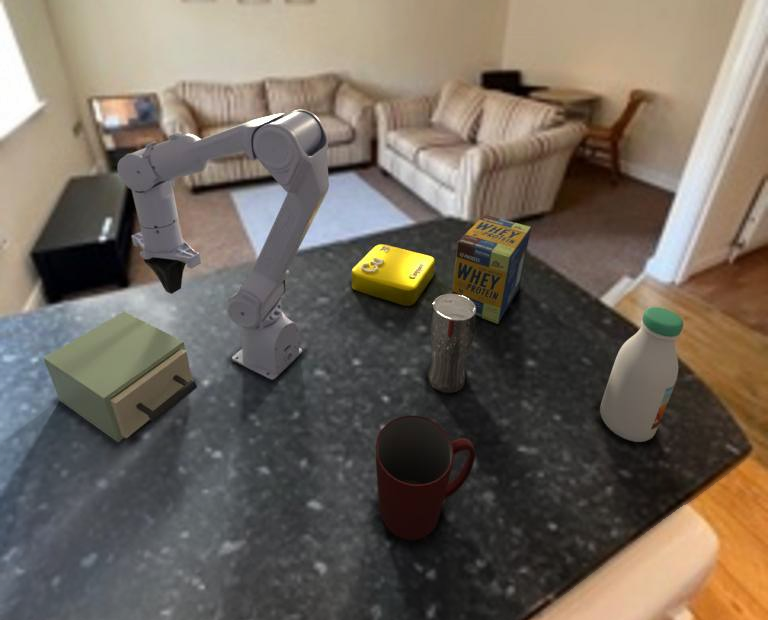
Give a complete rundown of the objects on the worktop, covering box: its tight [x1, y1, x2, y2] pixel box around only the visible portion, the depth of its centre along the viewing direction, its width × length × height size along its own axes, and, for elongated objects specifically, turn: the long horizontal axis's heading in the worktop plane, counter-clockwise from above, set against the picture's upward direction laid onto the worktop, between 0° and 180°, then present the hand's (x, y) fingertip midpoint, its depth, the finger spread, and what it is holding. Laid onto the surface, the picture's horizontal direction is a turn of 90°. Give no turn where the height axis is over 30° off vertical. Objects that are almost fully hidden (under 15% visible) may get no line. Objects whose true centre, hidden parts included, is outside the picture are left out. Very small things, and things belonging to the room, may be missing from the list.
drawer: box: [110, 349, 198, 439], centre depth 67 cm, size 18×11×7 cm, turn 61°
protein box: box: [451, 214, 532, 325], centre depth 93 cm, size 10×15×16 cm
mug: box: [375, 414, 476, 541], centre depth 54 cm, size 12×9×11 cm
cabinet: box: [42, 311, 186, 443], centre depth 69 cm, size 15×13×9 cm
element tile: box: [351, 243, 436, 307], centre depth 100 cm, size 15×15×5 cm
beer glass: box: [427, 293, 477, 394], centre depth 72 cm, size 7×7×15 cm
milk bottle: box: [599, 306, 684, 443], centre depth 64 cm, size 8×8×20 cm
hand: (173, 290), depth 78 cm, fingers closed
